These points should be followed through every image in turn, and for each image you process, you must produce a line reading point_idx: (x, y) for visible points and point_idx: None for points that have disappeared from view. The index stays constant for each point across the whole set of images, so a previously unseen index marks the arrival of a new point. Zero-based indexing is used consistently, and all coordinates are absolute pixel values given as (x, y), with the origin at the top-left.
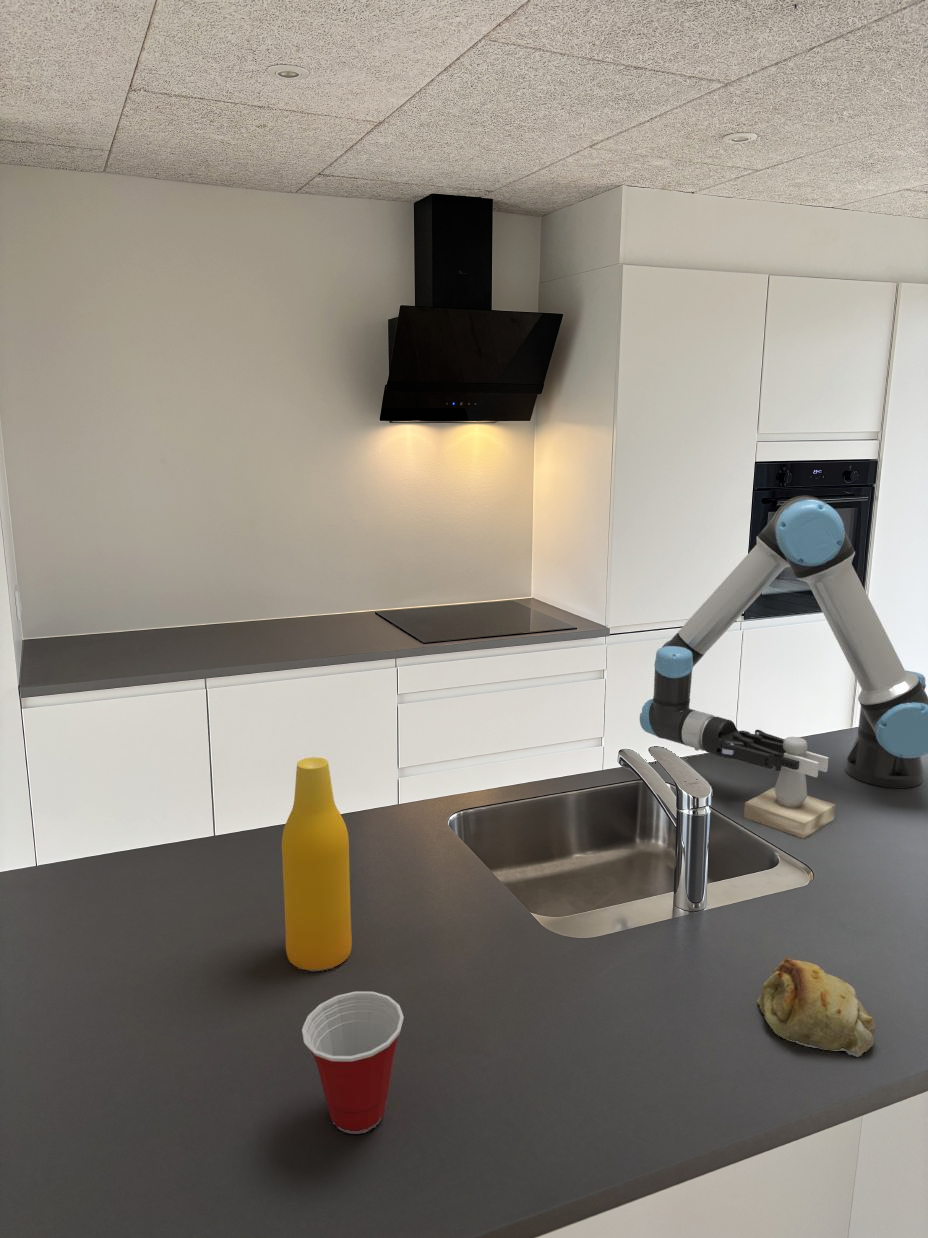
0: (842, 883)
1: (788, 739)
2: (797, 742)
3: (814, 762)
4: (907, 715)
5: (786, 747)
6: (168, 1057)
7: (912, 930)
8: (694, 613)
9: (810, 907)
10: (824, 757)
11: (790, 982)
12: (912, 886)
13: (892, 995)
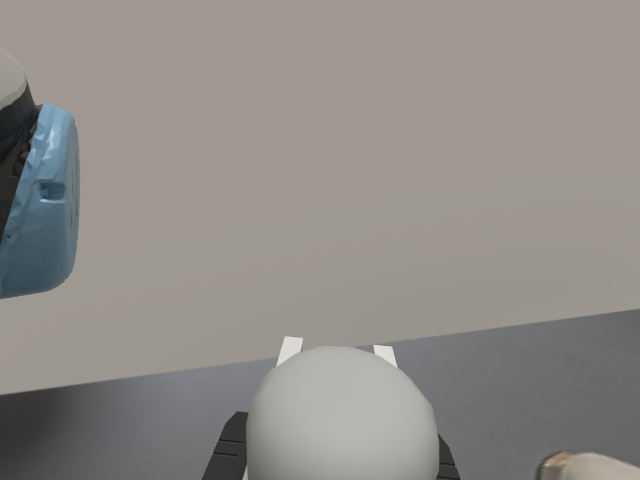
0: (506, 407)
1: (399, 426)
2: (390, 366)
3: (392, 354)
4: (72, 145)
5: (438, 468)
6: None
7: (499, 331)
8: None
9: (633, 421)
10: (298, 344)
11: None
12: (403, 345)
13: (613, 326)
